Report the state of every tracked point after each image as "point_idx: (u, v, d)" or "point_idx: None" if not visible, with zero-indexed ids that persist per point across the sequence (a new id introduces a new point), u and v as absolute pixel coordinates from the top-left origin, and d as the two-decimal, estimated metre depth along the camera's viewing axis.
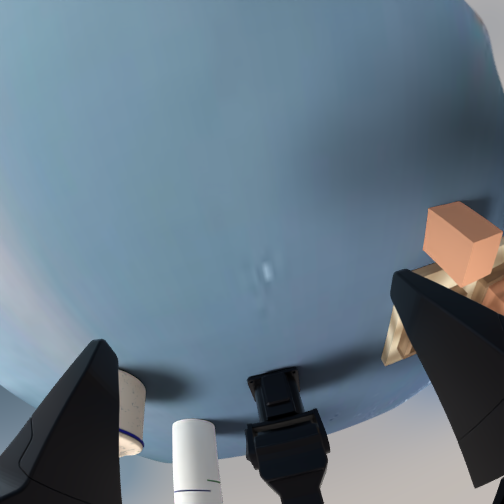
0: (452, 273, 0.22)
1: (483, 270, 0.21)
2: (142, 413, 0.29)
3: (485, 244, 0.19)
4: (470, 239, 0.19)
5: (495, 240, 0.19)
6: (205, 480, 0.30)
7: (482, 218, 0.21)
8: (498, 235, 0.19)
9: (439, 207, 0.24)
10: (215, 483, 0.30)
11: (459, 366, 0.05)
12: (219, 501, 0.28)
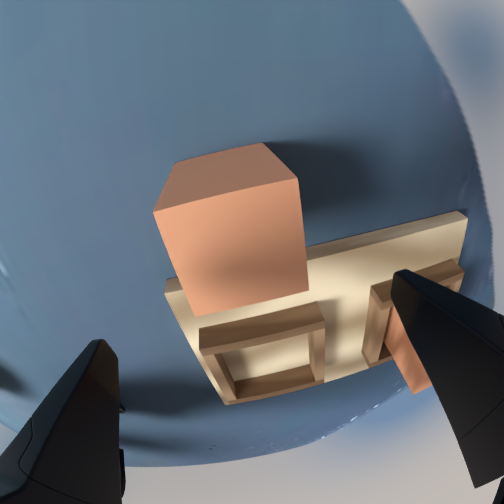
0: None
1: (264, 282, 0.11)
2: None
3: (221, 215, 0.10)
4: (157, 205, 0.10)
5: (268, 203, 0.10)
6: None
7: (270, 160, 0.12)
8: (278, 190, 0.09)
9: (197, 158, 0.15)
10: None
11: (459, 366, 0.05)
12: None
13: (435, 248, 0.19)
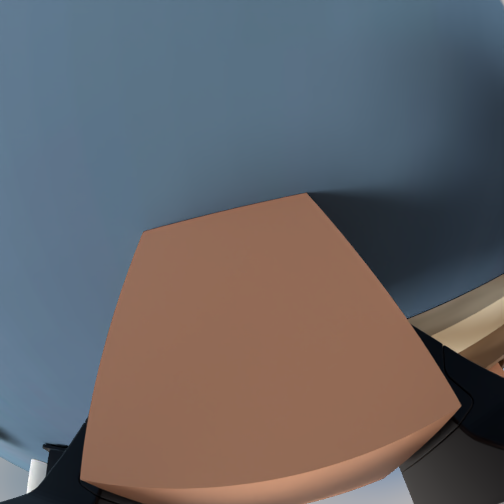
0: None
1: (320, 496, 0.04)
2: None
3: (252, 492, 0.03)
4: (87, 446, 0.03)
5: (375, 459, 0.03)
6: None
7: (357, 279, 0.05)
8: (409, 439, 0.03)
9: (183, 226, 0.08)
10: None
11: None
12: None
13: (499, 315, 0.12)
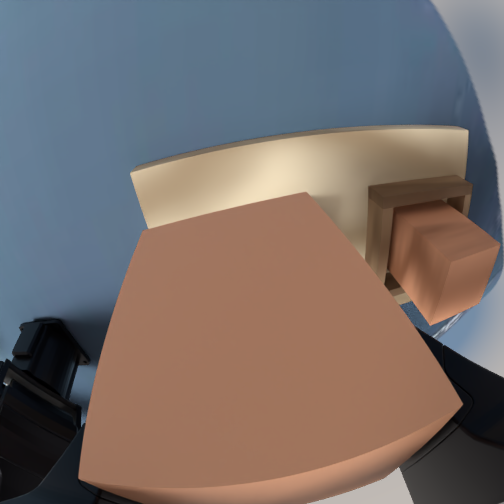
0: None
1: (321, 496, 0.04)
2: None
3: (252, 492, 0.03)
4: (85, 446, 0.03)
5: (375, 458, 0.03)
6: None
7: (358, 277, 0.05)
8: (410, 438, 0.02)
9: (183, 225, 0.08)
10: None
11: None
12: None
13: (437, 155, 0.16)
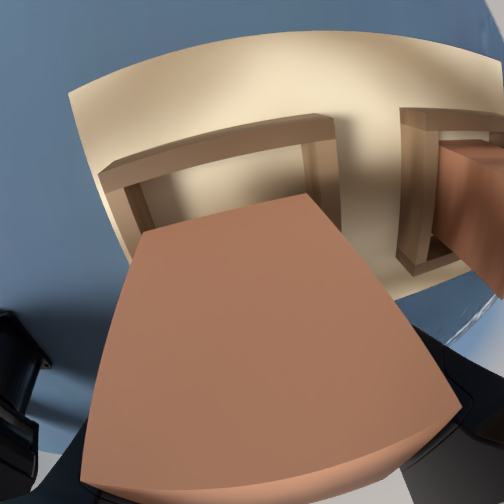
0: None
1: (321, 497, 0.04)
2: None
3: (252, 493, 0.03)
4: (87, 448, 0.03)
5: (375, 460, 0.03)
6: None
7: (358, 280, 0.05)
8: (409, 440, 0.02)
9: (183, 226, 0.08)
10: None
11: None
12: None
13: (473, 82, 0.10)
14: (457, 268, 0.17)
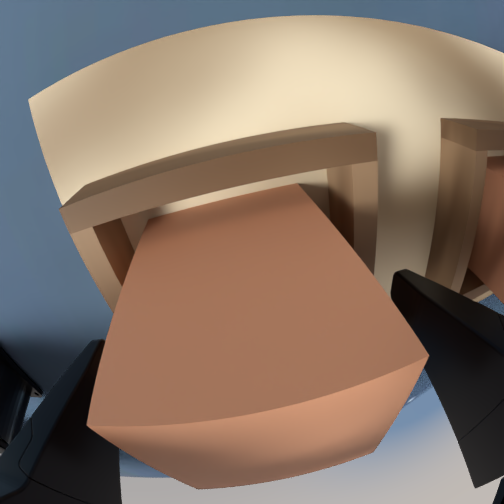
0: None
1: (311, 465, 0.05)
2: None
3: (242, 436, 0.04)
4: (95, 395, 0.04)
5: (352, 406, 0.04)
6: None
7: (336, 252, 0.06)
8: (382, 385, 0.03)
9: (185, 213, 0.09)
10: None
11: (459, 366, 0.05)
12: None
13: None
14: None
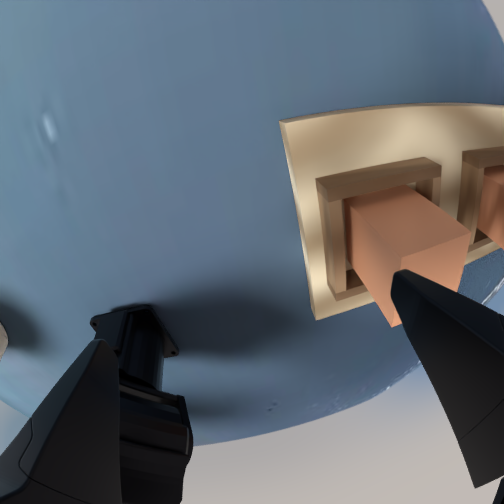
0: (380, 302, 0.16)
1: None
2: None
3: (434, 257, 0.12)
4: (396, 251, 0.12)
5: (456, 248, 0.12)
6: None
7: (437, 209, 0.14)
8: (462, 240, 0.12)
9: (363, 196, 0.17)
10: None
11: (459, 366, 0.05)
12: None
13: (501, 128, 0.15)
14: (486, 249, 0.23)
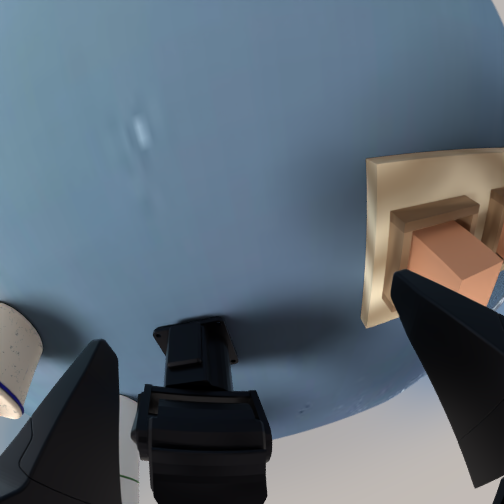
0: None
1: None
2: (26, 364, 0.19)
3: (479, 279, 0.14)
4: (457, 275, 0.14)
5: (492, 272, 0.14)
6: None
7: (477, 241, 0.17)
8: (497, 266, 0.14)
9: None
10: (126, 480, 0.20)
11: (459, 366, 0.05)
12: None
13: None
14: None
